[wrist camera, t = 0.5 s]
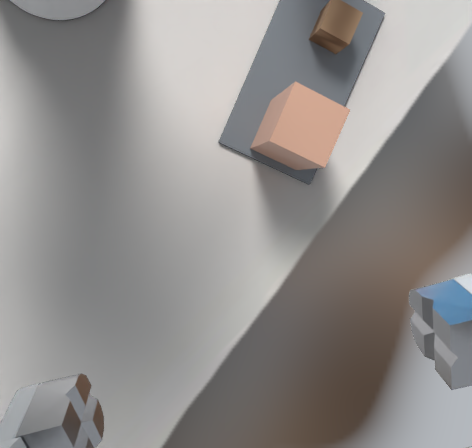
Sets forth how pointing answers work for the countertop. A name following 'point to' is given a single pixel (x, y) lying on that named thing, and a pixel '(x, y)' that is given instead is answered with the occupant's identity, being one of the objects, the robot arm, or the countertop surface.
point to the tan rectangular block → (300, 128)
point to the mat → (297, 71)
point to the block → (335, 26)
